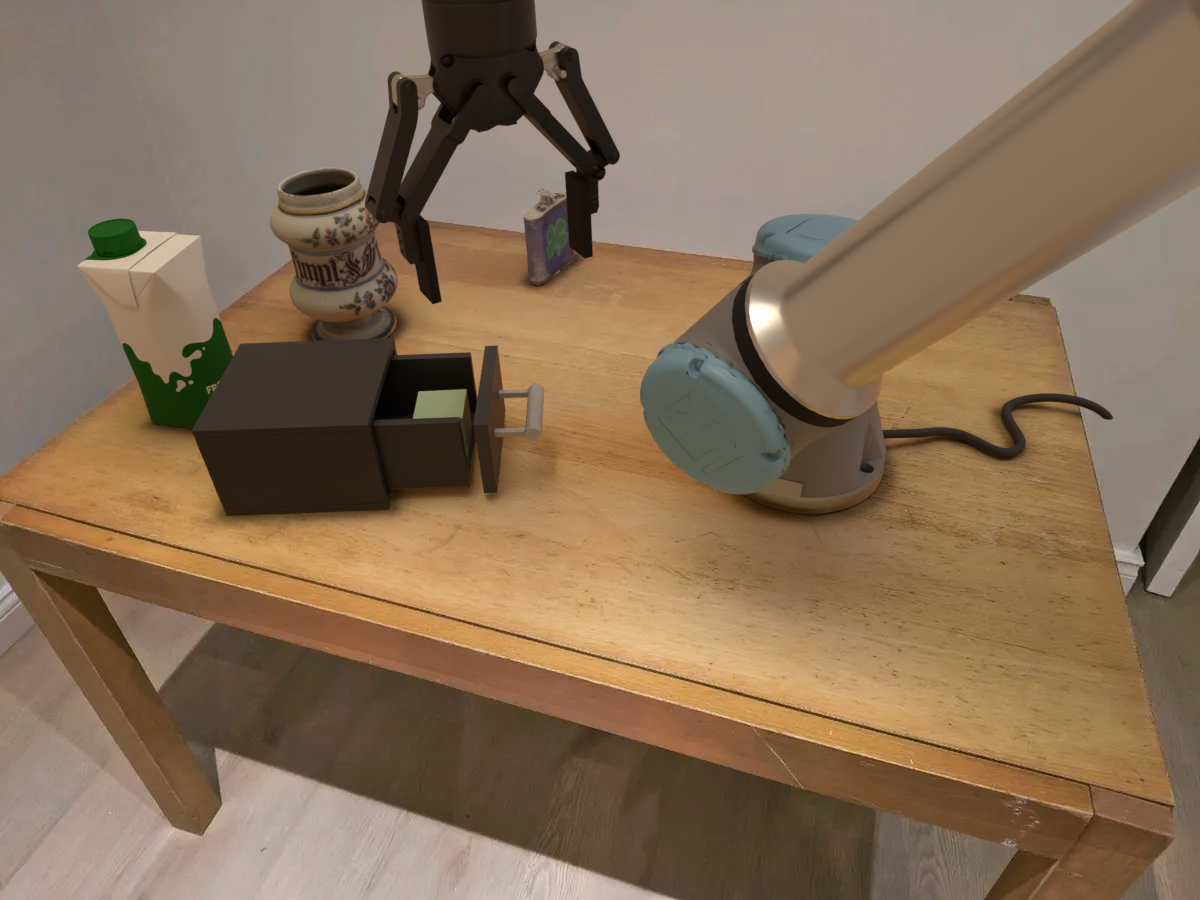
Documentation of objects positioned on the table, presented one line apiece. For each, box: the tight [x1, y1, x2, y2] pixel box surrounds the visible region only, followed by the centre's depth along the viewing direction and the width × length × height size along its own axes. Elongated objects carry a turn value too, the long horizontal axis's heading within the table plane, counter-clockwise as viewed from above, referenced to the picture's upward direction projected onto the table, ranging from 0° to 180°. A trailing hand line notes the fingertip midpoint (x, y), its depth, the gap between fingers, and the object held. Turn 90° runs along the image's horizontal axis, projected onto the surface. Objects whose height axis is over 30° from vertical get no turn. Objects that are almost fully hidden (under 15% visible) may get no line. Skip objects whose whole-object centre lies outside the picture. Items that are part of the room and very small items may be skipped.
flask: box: [523, 187, 575, 287], centre depth 109 cm, size 9×3×11 cm, turn 150°
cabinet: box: [191, 337, 398, 516], centre depth 80 cm, size 15×14×10 cm
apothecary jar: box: [269, 166, 399, 341], centre depth 97 cm, size 12×12×18 cm
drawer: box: [371, 345, 545, 495], centre depth 80 cm, size 18×12×8 cm
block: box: [413, 389, 472, 457], centre depth 81 cm, size 4×4×4 cm
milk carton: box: [77, 218, 234, 429], centre depth 85 cm, size 9×9×20 cm
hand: (508, 273), depth 71 cm, fingers open, 13 cm apart
